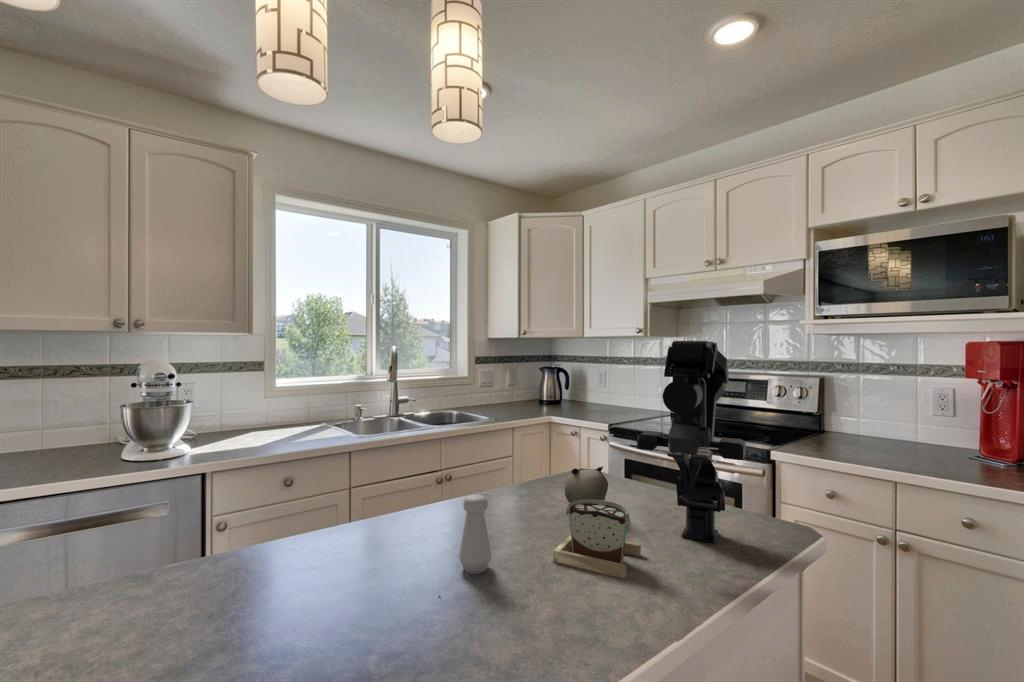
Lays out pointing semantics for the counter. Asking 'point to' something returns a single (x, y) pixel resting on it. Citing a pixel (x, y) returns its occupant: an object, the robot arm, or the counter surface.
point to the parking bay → (593, 559)
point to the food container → (598, 529)
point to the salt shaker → (475, 536)
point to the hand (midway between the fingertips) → (689, 490)
